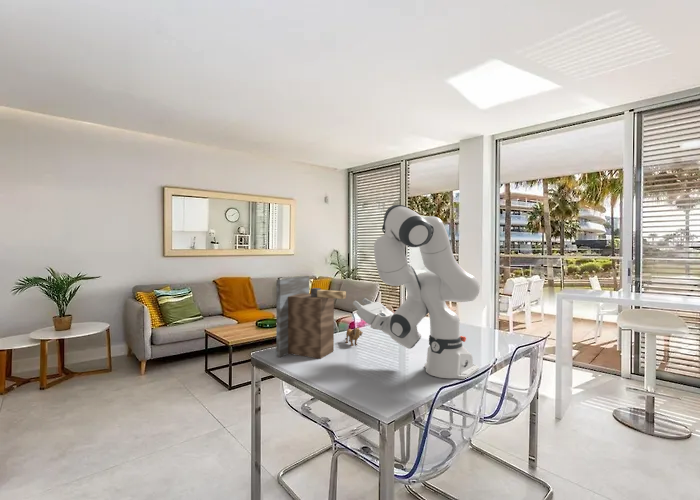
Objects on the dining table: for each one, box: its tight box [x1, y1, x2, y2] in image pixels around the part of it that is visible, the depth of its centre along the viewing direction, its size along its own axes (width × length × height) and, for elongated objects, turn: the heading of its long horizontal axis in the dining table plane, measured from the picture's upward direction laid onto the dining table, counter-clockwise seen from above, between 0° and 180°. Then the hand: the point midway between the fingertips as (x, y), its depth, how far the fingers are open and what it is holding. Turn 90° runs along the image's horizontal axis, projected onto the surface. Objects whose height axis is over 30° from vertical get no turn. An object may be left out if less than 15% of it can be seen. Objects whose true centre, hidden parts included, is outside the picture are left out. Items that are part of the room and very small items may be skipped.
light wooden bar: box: [310, 287, 347, 300], centre depth 166 cm, size 16×4×4 cm, turn 65°
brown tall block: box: [276, 275, 335, 359], centre depth 171 cm, size 19×24×34 cm
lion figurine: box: [344, 327, 363, 347], centre depth 187 cm, size 15×5×9 cm, turn 30°
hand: (358, 300), depth 160 cm, fingers open, 8 cm apart
